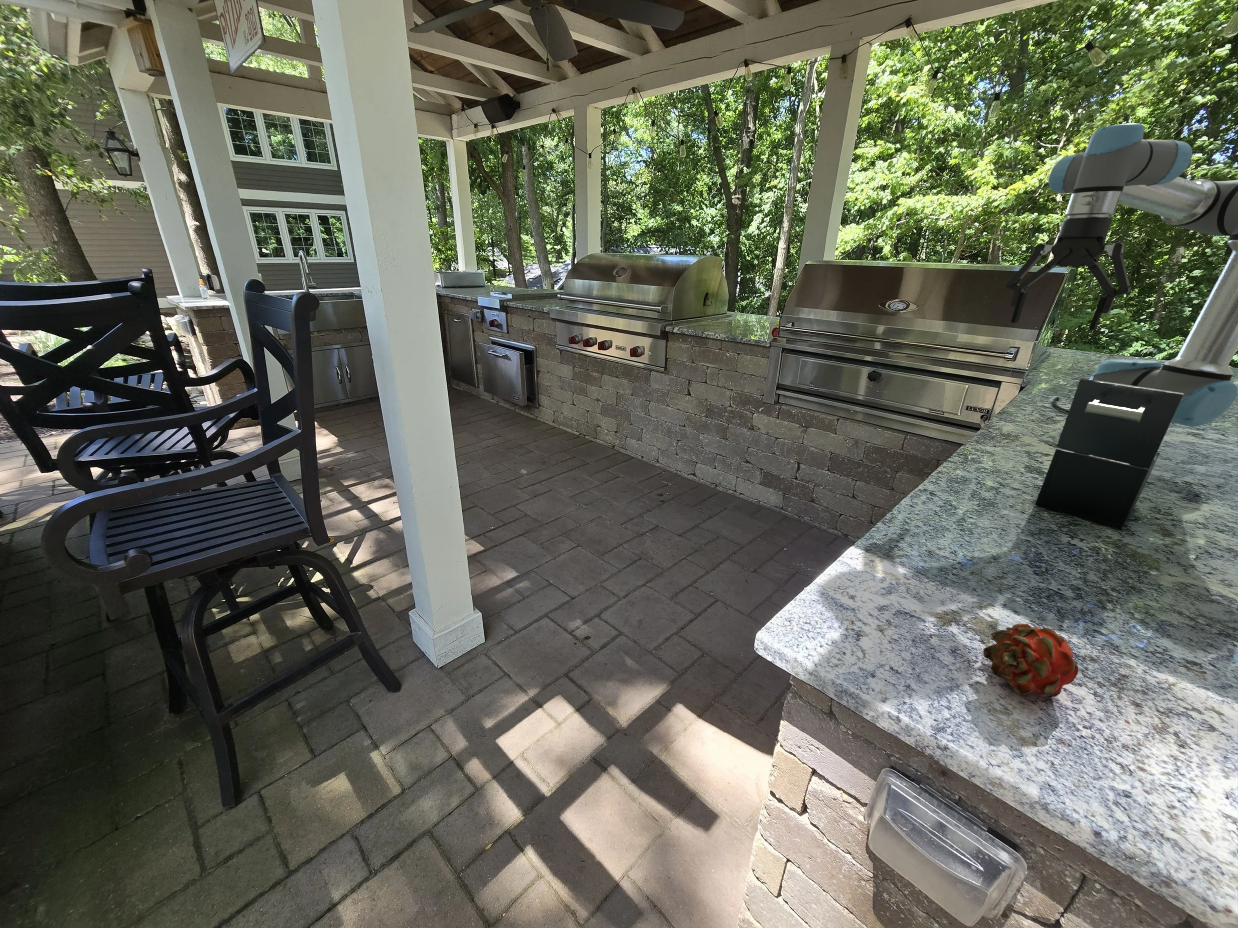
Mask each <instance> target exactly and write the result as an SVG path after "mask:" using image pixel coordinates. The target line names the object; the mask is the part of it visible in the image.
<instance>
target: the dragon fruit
mask: <svg viewBox="0 0 1238 928" xmlns="http://www.w3.org/2000/svg"><path fill="white" fill-rule="evenodd" d="M990 636H991V638H992V640H993V641H994V642H995V643H993V644H991V645H989V646H987V647H984V648H983V657H984V659H988V660H989V661H990V662H991V666H990V669H991V672H992V673H993V675H994V676H996V677H998V678H1000V679H1002V680H1004V681H1005V682H1006V683H1007V684H1008V685H1010V686H1011V687H1012V691H1013V692H1015V693H1017V694H1020V695H1029V694H1032V693H1033V692H1034V691H1035V692H1037V693H1038V694H1040V695H1047V697H1048V698H1056V697H1057V696H1059V695H1061V693H1062V690H1063V687H1064V686H1066V685H1069V684H1071V683H1073V682H1074V680H1075V679H1076V677H1077V676H1078V674H1079V666H1078V664H1077V661H1076V660H1075V659H1074V657H1075V656H1074V653H1073V651H1072V649H1071V647H1070V645H1069V642H1068V641H1067V640H1066V639H1065V638H1064V636H1063V635H1059V634H1058V633H1057V632H1055V630H1053V629H1052V628H1050V627H1042V628H1039V627H1037V626H1035V627H1032V626H1031V625H1029V623H1016V624H1013V625H1012V626H1011V627H1006V628H1005V629H997V630H994V631H993V632H991V634H990Z"/></svg>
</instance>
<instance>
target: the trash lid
mask: <svg viewBox="0 0 1238 928" xmlns="http://www.w3.org/2000/svg"><path fill="white" fill-rule="evenodd" d="M1183 395H1184V393H1178V392H1172V391H1165V390H1158V389H1151V388H1144V387H1137V386H1130V385H1123V384H1117V383H1110V382H1103V381H1096V380H1093V379H1088V378H1083V377H1082V378H1079V382H1078V384H1077V387H1076V390H1075V393H1074V396H1073V399H1072V402H1071V404H1070V407H1069V409H1068V410H1069V413H1068V412H1067V415H1066V417H1065V421H1064V424H1063V426H1062V429H1061V433H1060V436H1059V438H1058V441H1057V444H1056V449H1057V448H1061V449H1065V450H1070V451H1074V452H1079V453H1083V454H1087V455H1092V456H1096V457H1100V458H1105V459H1109V460H1113V461H1118V462H1122V463H1127V464H1131V465H1135V466H1140V467H1144V468H1148V469H1149V468H1150V467H1151V465H1152V463H1153V460H1154V458H1155V456H1156V454H1157V452H1158V453H1159V450H1160V448H1161V445H1162V443H1163V441H1164V438H1165V436H1166V435H1167V433H1168V430H1169V428H1170V425H1171V424H1172V423H1171V421H1172V419H1173V417H1174V415H1175V413H1176V410H1177V408H1178V406H1179V404H1180V402H1181V400H1182V397H1183Z"/></svg>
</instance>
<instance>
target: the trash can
mask: <svg viewBox="0 0 1238 928" xmlns="http://www.w3.org/2000/svg"><path fill="white" fill-rule="evenodd" d="M1159 456H1160V452H1159V451H1158V452H1157V454H1156V456H1155V458H1154V460H1153V463H1152V465H1151V467H1150V468H1149V469H1148V468H1144V467H1140V466H1135V465H1131V464H1130V465H1128V464H1124V463H1120V462H1115V461H1111V460H1107V459H1102V458H1098V457H1093V456H1089V455H1087V454H1083V453H1079V452H1074V451H1070V450H1065V449H1061V448H1057V447H1056V449H1055V451H1054V453H1053V456H1052V459H1051V460H1050V464H1049V467H1048V469H1047V471H1046V475H1045V476H1044V480H1043V482H1042V485H1041V487H1040V490H1039V493H1038V495H1037V498H1036V501H1035V502H1034V503H1035V506H1039V507H1042V508H1044V509H1048V510H1052V511H1055V512H1057V513H1061V514H1065V515H1068V516H1072V517H1076V518H1078V519H1082V520H1084V521H1088V522H1091V523H1095V524H1098V525H1102V526H1104V527H1108V528H1111V529H1115V530H1118V531H1122V529H1123V528H1124V526H1125V525H1126V522H1127V521H1128V520H1129V518H1130V517H1131V514H1132V512H1133V511H1134V509H1135V507H1136V505H1137V503H1138V501H1139V499H1140V496H1141V494H1142V492H1143V490H1144V488H1145V486H1146V484H1147V482H1148V480H1149V478H1150V475H1151V473H1152V471H1153V469H1154V468H1155V467H1154V466H1155V465H1156V463H1157V460H1158V459H1159Z"/></svg>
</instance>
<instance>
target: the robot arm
mask: <svg viewBox="0 0 1238 928" xmlns="http://www.w3.org/2000/svg"><path fill="white" fill-rule="evenodd" d="M1144 133H1145V126H1144V124H1142V123H1138V122H1137V123H1136V122H1135V123H1133V122H1131V123H1120V124H1113V125H1112V124H1111V125H1108V126H1107V125H1106V126H1103V127H1100V128H1098V129H1096V130H1095V131H1093V133H1092V135H1091V136H1090V139H1089V142H1088V144H1087V146H1086V148H1085V152H1077V153H1074V154H1071V155H1067V156H1064V157H1062V158H1061V159H1059V160H1058V161H1057V162H1056V163H1055V164H1054V165H1053V167H1052V168H1051V171H1050V173H1049V175H1048V186H1049V188H1050V190H1051V191H1052V192H1054V193H1057V194H1069V193H1071V195H1070V199H1069V202H1068V205H1067V208H1066V211H1065V216H1066V217H1067V218H1065V219H1064V220H1062V223H1061V227H1060V229H1059V233H1058V235H1057V239H1056V241H1055V243H1054V244H1046V243H1037V245H1035V248H1034V250H1033V252H1032V255H1031V256H1029V258H1028V259H1027V260H1026V261H1025V262H1024V264H1023V265H1021V267H1020V268H1019V269H1018V271H1017V272H1015V274H1014V275H1013V276H1012V277H1011V279H1010V280H1009V281H1008V282H1007V283H1006V284H1005V287H1006V288H1007V289H1009V290H1012V291H1013V294H1012V299H1011V301H1010V307H1012V308H1014V310H1013V313H1012V317H1011V320H1010V323H1012V324H1017V323H1019V321H1020V317H1021V314H1022V312H1023V308H1024V305H1025V302H1026V298H1027V295H1028V291H1025V290H1026V289H1028V288H1029V287H1030V286H1032V285H1033V284H1034V283H1035V282H1036V281H1038V280H1040V279H1041V278H1042V277H1043V276H1045V275H1046V274H1047V273H1048V272H1050V271H1051V270H1053V269H1054V268H1056V267H1057V266H1059V267H1061V268H1067V267H1068V268H1069V267H1074V268H1083V267H1087V268H1088V270H1089V271H1090V272H1091V274H1092V276H1093V277H1094V278H1095V280H1096V281H1097V283H1098V284H1099V287H1100V288H1101V289H1102V291H1103V292H1104V293H1105V295H1103V296H1100V297H1099V300H1098V303H1097V305H1096V309H1095V311H1094V314H1093V316H1092V319H1091V322H1090V325H1089V327H1088V330H1089V331H1095V330H1097V328H1098V326H1099V323H1100V320H1101V317H1102V315H1103V314H1109V313H1110V311H1111V309H1112V307H1113V305H1114V301H1115V300H1116V297H1117V296H1122V295H1126V294H1128V293H1130V292H1131V290H1132V288H1131V284H1130V281H1129V275H1128V272H1127V268H1126V264H1125V261H1124V256H1123V254H1124V250H1125V243H1123V242H1118V243H1113V244H1106V239H1107V237H1108V233H1109V231H1110V228H1111V225H1112V222H1113V219H1112V217H1111V215H1114V214H1116V211H1117V208H1118V205H1122V206H1125V207H1129V208H1132V209H1135V210H1139V211H1143V212H1146V213H1150V214H1152V215H1156V216H1160V218H1161V220H1162V221H1163V222H1164V223H1166V224H1168V225H1170V226H1171V225H1172V226H1175V227H1179V228H1182V229H1184V230H1185V229H1186V230H1189V231H1193V232H1195V233H1196V232H1197V233H1200V234H1205V235H1209V236H1218V237H1220V236H1221V237H1229V239H1228V241H1227V245H1228V246H1229V248H1230V249H1231V251H1232V252H1231V254H1230V255H1229V258H1228V259H1227V262H1226V263H1225V265H1224V266H1223V268H1222V271H1221V273H1220V275H1219V277H1218V278H1217V280H1216V282H1215V284H1214V285H1213V288H1212V290H1211V292H1210V294H1209V296H1208V297H1207V299H1206V301H1205V302H1204V304H1203V307H1202V309H1201V310H1200V312H1199V314H1198V316H1197V318H1196V320H1195V322H1194V323H1193V325H1192V327H1191V329H1190V331H1189V333H1188V335H1187V337H1186V339H1185V340H1184V343H1183V344H1182V347H1181V348H1180V350H1179V352H1178V353H1177V356H1176V357H1174V358H1171V359H1170V360H1167V361H1165V362H1164V363H1163V365H1162V362H1161V361H1158V360H1152V359H1151V360H1148V359H1127V358H1125V359H1123V358H1121V359H1120V358H1118V359H1106V360H1103V361H1101V362H1100V363H1099V364H1098V366H1097V368H1096V370H1095V372H1094V374H1093V375H1092V376H1093V377H1092V380H1096V381H1103V382H1110V383H1117V384H1123V385H1130V386H1137V387H1144V388H1151V389H1158V390H1165V391H1172V392H1178V393H1184V395H1183V397H1182V400H1181V402H1180V404H1179V406H1178V408H1177V410H1176V413H1175V415H1174V417H1173V419H1172V421H1171V423H1170V424H1178V425H1182V426H1185V427H1186V426H1187V427H1200V426H1203V425H1206V424H1209V423H1212V422H1213V421H1214V420H1216V419H1218V418H1219V417H1221V416H1223V414H1225V412H1227V411H1228V410H1229V409H1230V408H1231V406H1233V404H1234V402H1235V401H1236V399H1237V396H1238V386H1237V385H1236V384H1235V383H1234V382H1232V381H1231V380H1232V378H1233V376H1234V374H1235V373H1234V371H1233V370H1232V368H1231V367H1230V363H1231V361H1232V359H1233V358H1234V356H1235V354H1236V353H1237V351H1238V179H1236V180H1235V179H1234V180H1222V181H1221V180H1215V181H1214V180H1210V179H1207V178H1198V179H1193V180H1189V179H1187V178H1184V177H1180V176H1181V175H1182V174H1184V172H1185V171H1186V170H1187V169H1188V167H1189V165H1190V163H1191V161H1192V158H1193V149H1192V147H1191V145H1190V144H1189V143H1188V142H1186V141H1181V140H1175V139H1173V138H1171V139H1144ZM1049 252H1050V253H1051V254H1052V256H1053V258H1051V259H1050V260H1049V261H1047V262H1046V263H1045V264H1044V265H1043V266H1042V267H1040V268H1039V269H1038V270H1036V271H1035V272H1034V273H1032V274H1031V275H1029V276H1028V277H1027V278H1026V279H1024V280H1023V278H1024V277H1025V276H1026V275H1027V274H1028V272H1030V270H1031V269H1032V268H1033V267H1034V266H1035V265H1036V264H1037V262H1038V261H1039V260H1040V259H1041V258H1042V256H1045V255H1047V253H1049ZM1104 252H1106V253H1107V255H1108V256H1110V257H1111V263H1112V265H1113V271H1114V274H1115V278H1116V282H1117V286H1118V288H1116V287H1115V286H1114V285H1113V283H1112V281H1111V279H1110V278H1109V277H1108V275H1107V273H1106V272H1105V270H1104V269H1103V267H1101V266H1102V265H1101V264H1100V262H1099V261H1098V260H1097V258H1098V257H1099V256H1100V255H1102V254H1103V253H1104ZM1021 280H1023V281H1022V282H1021ZM1020 282H1021V283H1020ZM1057 401H1060V396H1055V398H1053V400H1052V403H1051V404H1052V405H1053V407H1055V408H1056V409H1058V410H1060V411H1062V412H1065V413H1067V414H1068V413H1069V410H1070V409H1066V408H1064V407H1061V406H1059V405H1058V404H1057V403H1056V402H1057Z"/></svg>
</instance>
